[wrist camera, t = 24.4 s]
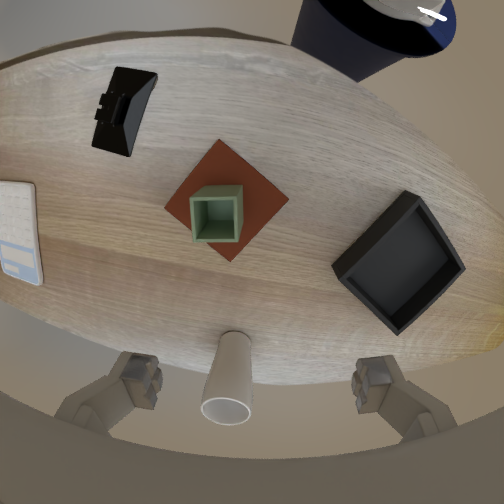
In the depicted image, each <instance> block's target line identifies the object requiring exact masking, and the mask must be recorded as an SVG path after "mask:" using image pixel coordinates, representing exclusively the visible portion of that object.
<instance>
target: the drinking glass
mask: <svg viewBox="0 0 504 504" xmlns="http://www.w3.org/2000/svg"><path fill="white" fill-rule="evenodd" d="M252 402H253V382H252V365H251V341H250V339H249V338H248V337H247V336H246V335H245V334H243V333H241V332H236V331H232V332H228V333H226V334H224V335H223V336H222V337H221V338H220V341H219V345H218V349H217V352H216V355H215V357H214V360H213V363H212V366H211V369H210V372H209V374H208V377H207V380H206V384H205V387H204V391H203V396H202V402H201V412H202V414H203V415H204V416H205V417H206V418H207V419H209V420H211V421H213V422H215V423H218V424H223V425H237V424H241V423H244V422H246V421H247V420H248V419H249V418H250V416H251V411H252Z"/></svg>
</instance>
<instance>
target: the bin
mask: <svg viewBox="0 0 504 504" xmlns="http://www.w3.org/2000/svg"><path fill="white" fill-rule="evenodd" d="M331 266H332V268H333V270H334V272H335V274H336V276H337V278H338V280H339V281H340V282H341V283H342V284H343V285H344V286H345V287H346V288H347V289H349V290H350V291H351V292H352V293H353V294H354V295H355V296H356V297H357V298H358V299H359V300H360V301H361V302H362V303H363V304H364V305H365V306H367V307H368V308H369V309H370V310H371V311H372V312H373V313H374V314H375V315H376V316H377V317H378V318H379V319H380V320H381V321H382V322H383V323H384V324H385V325H386V326H387V327H388V328H389V329H390V330H391V331H392V332H393V333H394V334H395V335H396V336H398V335H399V334H400V333H401V332H403V331H404V330H405V329H406V328H407V327H408V326H409V325H410V324H412V323H413V322H414V321H415V320H416V319H417V318H418V317H419V316H420V315H421V314H422V313H424V312H425V311H426V310H427V309H428V308H429V307H430V306H431V305H432V304H433V303H434V302H435V301H436V300H437V299H438V298H439V297H440V296H441V295H442V294H443V293H444V292H445V291H446V290H447V289H448V288H449V287H450V286H451V285H452V284H453V283H454V281H455V280H456V279H457V278H458V277H459V276H460V275H461V274H462V273H463V272H464V270H465V269H466V268H465V266H464V264H463V262H462V261H461V259H460V257H459V255H458V254H457V252H456V250H455V249H454V247H453V245H452V244H451V242H450V240H449V239H448V237H447V235H446V234H445V232H444V231H443V229H442V228H441V226H440V225H439V223H438V221H437V220H436V218H435V217H434V216H433V214H432V213H431V211H430V210H429V208H428V207H427V205H426V204H425V203H424V201H423V200H422V198H421V197H420V196H418V195H415V194H413V193H411V192H408V191H406V190H405V191H404V192H403V193H402V194H401V195H400V196H399V197H398V198H397V199H396V200H395V201H394V202H393V204H392V205H391V206H390V207H389V208H388V209H387V210H386V211H385V212H384V213H383V214H382V215H381V216H380V217H379V218H378V219H377V220H376V221H375V222H374V223H373V224H372V225H371V227H370V228H369V229H368V230H367V231H366V232H365V233H364V234H363V235H362V236H361V237H360V238H359V239H358V240H357V241H356V242H355V243H354V244H353V245H352V246H351V247H350V248H349V249H348V250H347V251H346V252H345V253H343V254H342V255H341V256H340V257H339V258H338V259H337V260H336V261H335V262H334V263H333V264H332V265H331Z"/></svg>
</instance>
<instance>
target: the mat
mask: <svg viewBox="0 0 504 504" xmlns="http://www.w3.org/2000/svg"><path fill="white" fill-rule="evenodd" d="M210 185H243V225H242V229H241V233H240V237H239V241H238V242H206V243H207V244H209V245H210V246H211V247H212V248H213V249H215V250H216V251H217V252H218V253H220V254H221V255H222V256H223V257H225V258H226V259H227V260H228V261H230V262H231V261H232V260H233V259H234V257H235V256H236V255H237V254H238V253H239V252H240V251H241V250H242V249H243V248H244V247H245V246H246V245H247V244H248V242H249V241H250V240H251V239H252V238H253V237H254V236H255V235H256V234H257V233H258V232H259V231H260V230H261V229H262V228H263V227H264V225H265V224H266V223H267V222H268V221H269V220H270V219H271V218H272V217H273V216H274V215H275V214H276V213H277V212H278V211H279V210H280V209H281V207H282V206H283V205H284V204H285V203H286V202H287V201H288V200H289V199H288V198H287V197H286V196H285V195H284V194H283V193H282V192H281V191H279V190H278V189H277V188H276V187H275V186H274V185H273V184H272V183H270V182H269V181H268V180H267V179H266V178H265V177H264V176H262V175H261V174H260V173H259V172H258V171H257V170H256V169H254V168H253V167H252V166H251V165H250V164H249V163H247V162H246V161H245V160H244V159H243V158H241V157H240V156H239V155H238V154H237V153H235V152H234V151H233V150H232V149H231V148H229V147H228V146H227V145H226V144H225V143H223V142H222V141H221V140H220V139H218V141H217V142H216V143H215V144H214V145H213V146H212V148H211V149H210V150H209V151H208V152H207V154H206V155H205V156H204V157H203V159H202V160H201V161H200V162H199V163H198V165H197V166H196V167H195V168H194V170H193V171H192V172H191V173H190V175H189V176H188V177H187V178H186V180H185V181H184V182H183V184H182V185H181V186H180V187H179V189H178V190H177V191H176V193H175V194H174V195H173V197H172V198H171V199H170V201H169V202H168V203H167V205H166V206H165V207H164V208H165V209H166V210H167V211H168V212H169V213H171V214H172V215H173V216H174V217H176V218H177V219H178V220H179V221H180V222H182V223H183V224H184V225H185V226H186V227H188V228H189V229H190V230H191V231H192V225H191V212H190V197H191V196H192V195H193V194H195V193H196V192H197V191H199V190H200V189H201V188H202V187H204V186H210Z"/></svg>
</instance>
